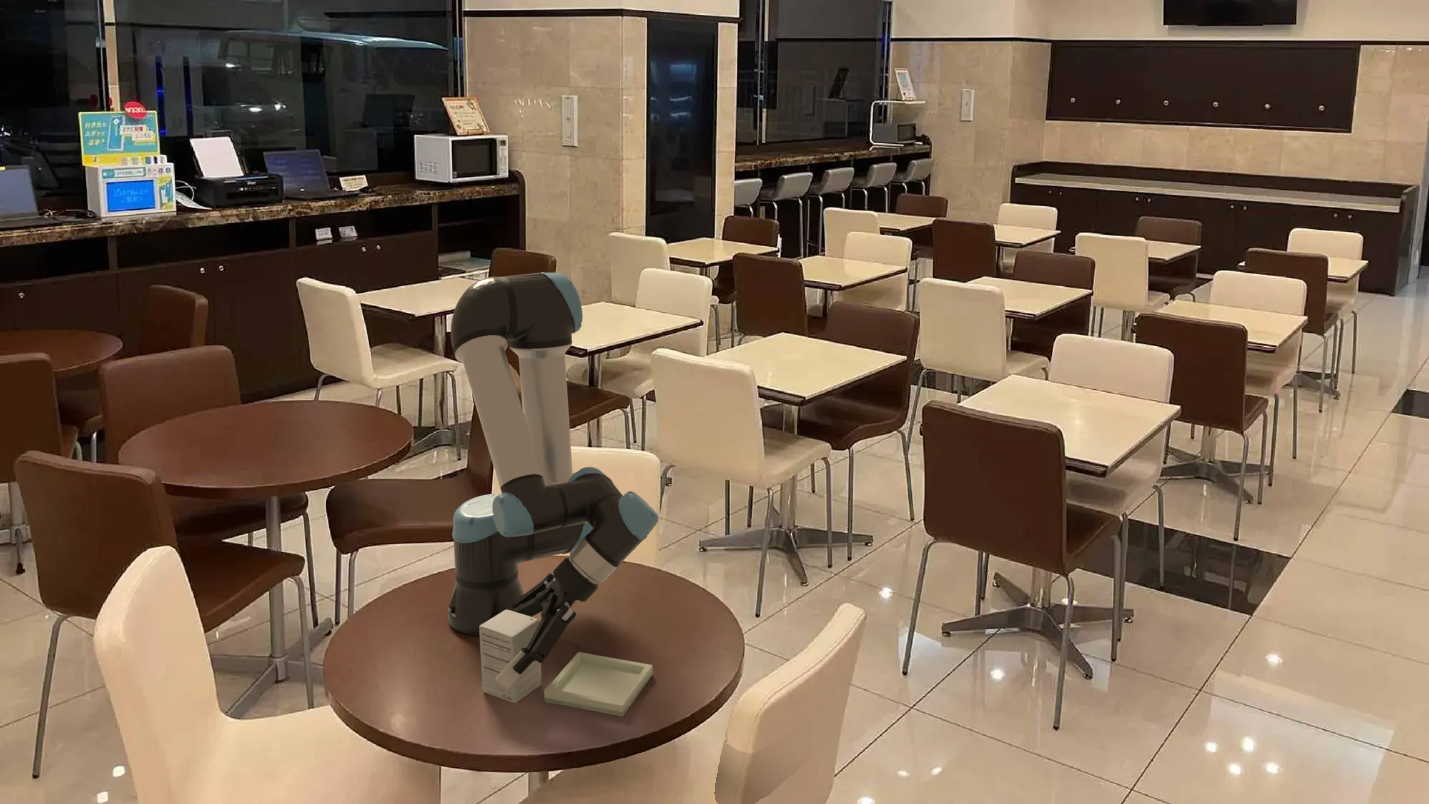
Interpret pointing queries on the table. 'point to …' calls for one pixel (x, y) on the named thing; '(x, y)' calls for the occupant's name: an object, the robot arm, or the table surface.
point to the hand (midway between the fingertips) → (495, 665)
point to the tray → (598, 684)
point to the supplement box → (507, 654)
